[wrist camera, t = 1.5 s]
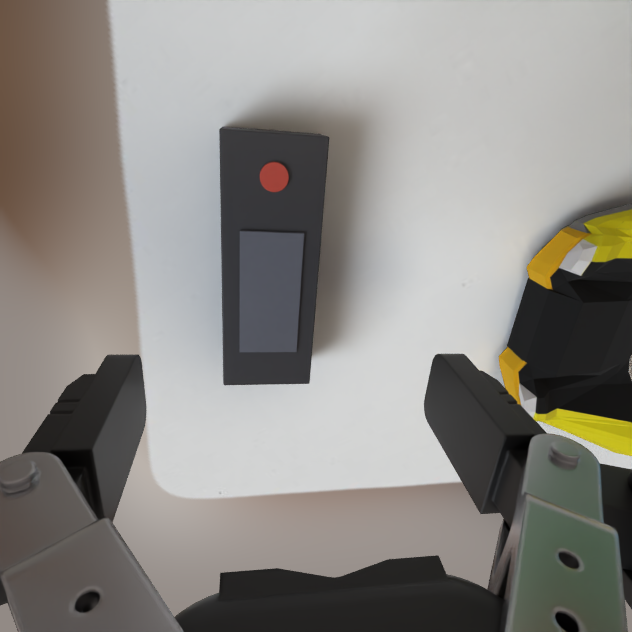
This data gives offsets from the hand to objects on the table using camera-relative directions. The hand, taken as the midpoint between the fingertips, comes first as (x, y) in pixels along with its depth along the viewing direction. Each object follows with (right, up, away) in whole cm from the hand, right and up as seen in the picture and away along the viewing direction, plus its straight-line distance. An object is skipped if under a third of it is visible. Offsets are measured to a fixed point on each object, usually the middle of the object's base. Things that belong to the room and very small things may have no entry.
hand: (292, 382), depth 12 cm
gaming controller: (+17, +2, +14) cm, 22 cm away
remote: (-2, +5, +10) cm, 11 cm away
